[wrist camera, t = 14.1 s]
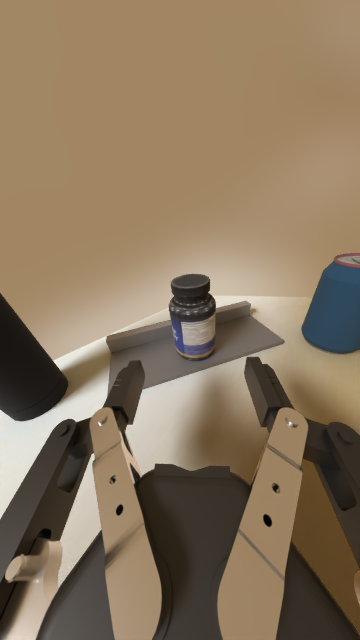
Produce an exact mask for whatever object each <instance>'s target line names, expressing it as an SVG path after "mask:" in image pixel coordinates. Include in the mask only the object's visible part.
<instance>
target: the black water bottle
mask: <svg viewBox="0 0 360 640" xmlns="http://www.w3.org/2000/svg"><path fill="white" fill-rule="evenodd" d="M67 387H68V381H67V379H66V377H65V376H64V375H63V373H62V372H61V371H60V369H59V368H58V367H57V366H56V364H55V363H54V362H53V361H52V359H51V358H50V357H49V355H48V354H47V353H46V351H45V350H44V349H43V348H42V346H41V345H40V344H39V342H38V341H37V340H36V338H35V337H34V336H33V335H32V333H31V332H30V331H29V330H28V328H27V327H26V325H25V324H24V323H23V322H22V320H21V319H20V318H19V316H18V315H17V314H16V313H15V311H14V310H13V309H12V307H11V306H10V305H9V304H8V302H7V301H6V300H5V298H4V297H3V296H2V295H1V293H0V410H2V411H3V412H4V413H6V414H7V415H8V416H10V417H11V418H12V419H14V420H16V421H26V420H30V419H33V418H35V417H37V416H40V415H42V414H43V413H45V412H46V411H48V410H49V409H51V408H52V407H53V406H54V405H55V404H56V403H57V402H58V401H59V400H60V399H61V398H62V396H63V395H64V394H65V392H66V389H67Z"/></svg>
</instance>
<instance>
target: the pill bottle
mask: <svg viewBox="0 0 360 640" xmlns="http://www.w3.org/2000/svg"><path fill="white" fill-rule="evenodd" d="M171 289H172V293H173V295H174V297H173V298H172V299H171V301H170V303H169V311H170V317H171V323H172V329H173V335H174V341H175V347H176V351H177V353H178V354H179V355H180V356H181V357H182V358H184V359H186V360H189V361H200V360H203V359H206V358H208V357H209V356H210V355H211V354H212V353H213V351H214V349H215V316H216V302H215V299H214V298H213V296H212V295H210V294H209V293H208V292H209V291H210V279H209V277H207V276H205V275H201V274H188V275H182V276H179V277H176V278H174V279H173V280H172V281H171Z"/></svg>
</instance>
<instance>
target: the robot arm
mask: <svg viewBox="0 0 360 640" xmlns="http://www.w3.org/2000/svg"><path fill="white" fill-rule="evenodd" d="M244 374H245V379H246V382H247V385H248V389H249V392H250V395H251V398H252V401H253V404H254V407H255V410H256V413H257V416H258V419H259V422H260V425H261V427H267V429H268V432H269V434H268V437H267V440H266V443H265V446H264V448H263V451H262V454H261V457H260V460H259V462H258V465H257V468H256V470H255V473H254V476H253V479H252V481H251V484H250V485H249V484H248V483H247V482H246V481H245V480H244V479H242V478H241V477H240V476H238V475H236V474H235V473H232V472H230V467H229V466H208V467H205V468H202V469H199V470H196V471H188V470H186V469H183V468H181V467H178V466H176V465H173V464H155V468H154V469H153V470H151V471H149V472H147V473H145V474H144V475H143V476H142V474H141V471H140V469H139V466H138V464H137V462H136V460H135V457H134V455H133V452H132V449H131V446H130V443H129V440H128V437H127V434H126V431H125V430H126V427H127V425H133V421H134V417H135V414H136V410H137V407H138V403H139V399H140V396H141V392H142V389H143V385H144V381H145V372H144V369H143V366H142V363H141V361H140V360H130V361H129V363H128V366H127V367H125V368H123V369H122V370H121V371H120V372H119V373H118V375H117V377H116V380H115V382H114V384H113V386H112V388H111V390H110V393H109V395H108V397H107V399H106V401H105V404H104V406H103V408H102V409H100V410H98V411H97V412H96V413H95V414H94V415H93V416H92V417H91V418H88V419H85V420H82V421H79V422H75V421H74V420H73V419H67V420H64V421H62V422H61V423H59V424H58V425H57V426H56V427H55V428H54V429H53V431H52V432H51V434H50V436H49V438H48V439H47V441H46V443H45V444H44V446H43V448H42V449H41V451H40V453H39V455H38V456H37V458H36V460H35V461H34V463H33V465H32V466H31V468H30V470H29V472H28V473H27V475H26V477H25V478H24V480H23V482H22V483H21V485H20V487H19V489H18V490H17V492H16V494H15V495H14V497H13V499H12V500H11V502H10V504H9V506H8V507H7V509H6V511H5V512H4V514H3V516H2V518H1V519H0V640H360V631H359V633H358V632H357V630H356V629H355V627H354V626H353V624H352V623H351V621H350V620H349V619H348V617H347V616H346V615H345V613H344V612H343V610H342V609H341V608H340V606H339V605H338V604H337V602H336V601H335V600H334V598H333V597H332V595H331V594H330V593H329V591H328V590H327V589H326V587H325V586H324V585H323V583H322V582H321V580H320V579H319V578H318V576H317V575H316V574H315V572H314V571H313V570H312V568H311V567H310V565H309V564H308V563H307V561H306V560H305V559H304V557H303V556H302V555H301V553H300V552H299V551H298V549H297V548H296V546H295V545H294V544H293V542H292V541H291V535H292V530H293V524H294V519H295V513H296V508H297V502H298V497H299V491H300V486H301V480H302V469H301V463H302V458H303V459H306V460H308V461H311V462H313V463H314V466H315V468H316V470H317V472H318V475H319V477H320V479H321V481H322V484H323V486H324V488H325V491H326V493H327V495H328V497H329V500H330V502H331V504H332V506H333V509H334V511H335V513H336V516H337V518H338V520H339V522H340V525H341V527H342V529H343V531H344V534H345V536H346V538H347V541H348V543H349V545H350V547H351V550H352V552H353V554H354V556H355V559H356V561H357V563H358V566H359V568H360V435H359V434H358V433H357V432H356V431H354V430H353V429H352V428H350V427H349V426H347V425H345V424H342V423H339V422H331V423H329V424H328V425H324V424H321V423H318V422H314V421H311V420H308V419H306V418H305V417H303V416H302V415H301V414H300V413H299V412H298V411H296V410H295V409H294V408H293V406H292V404H291V402H290V401H289V399H288V397H287V395H286V393H285V391H284V389H283V387H282V385H281V384H280V382H279V380H278V378H277V376H276V374H275V372H274V370H273V369H272V368H271V367H270V366H269V365H268V364H262V362H261V360H260V358H259V357H247V359H246V365H245V371H244ZM93 453H94V455H95V460H94V461H93V464H92V466H93V474H94V481H95V488H96V494H97V501H98V508H99V514H100V521H101V528H102V529H101V531H100V532H99V533H98V535H97V536H96V538H95V539H94V540H93V542H92V543H91V544H90V546H89V547H88V549H87V550H86V551H85V553H84V554H83V555H82V557H81V558H80V560H79V561H78V562H77V564H76V565H75V566H74V568H73V569H72V571H71V572H70V573H69V575H68V576H67V577H66V579H65V580H64V582H63V583H62V584H61V586H60V587H59V589H58V572H59V569H60V566H61V560H62V546H61V543H60V542H59V541H60V538H61V536H62V533H63V530H64V527H65V525H66V522H67V519H68V517H69V514H70V511H71V508H72V506H73V503H74V500H75V497H76V495H77V492H78V489H79V487H80V484H81V481H82V478H83V476H84V473H85V470H86V468H87V465H88V462H89V459H90V457H91V454H93ZM354 588H355V593H356V596H357V599H358V603H359V606H360V570H358V571H357V572H356V574H355V576H354Z"/></svg>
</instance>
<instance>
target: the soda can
mask: <svg viewBox="0 0 360 640" xmlns="http://www.w3.org/2000/svg"><path fill="white" fill-rule="evenodd" d="M302 333H303V336H304V338H305V340H306V341H307V342H308V343H309V344H310V345H311V346H313V347H314V348H316V349H318V350H321V351H324V352H327V353H331V354H347V353H350V352H353V351H356V350H358V349H360V253H350V254H342V255H338V256H336V257H335V258H334V261H333V262H332V263H331V264H330V265H329V266H328V267H327V268H325V269H324V271H323V273H322V276H321V278H320V281H319V283H318V286H317V288H316V291H315V294H314V296H313V299H312V301H311V304H310V307H309V309H308V312H307V315H306V317H305V320H304V322H303V325H302Z"/></svg>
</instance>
